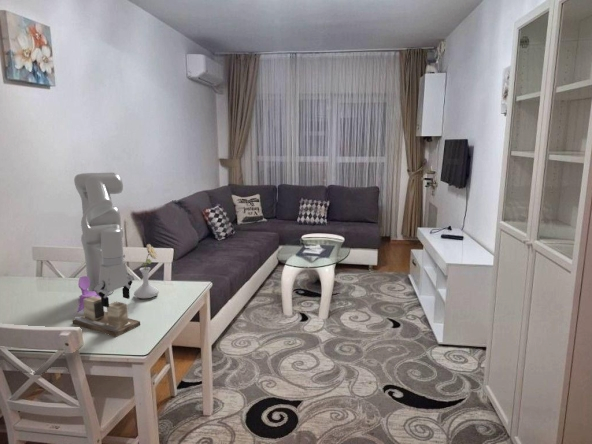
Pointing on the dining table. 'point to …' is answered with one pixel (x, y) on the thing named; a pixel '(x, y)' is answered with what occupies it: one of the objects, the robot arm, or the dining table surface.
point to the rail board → (101, 319)
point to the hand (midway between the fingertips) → (116, 302)
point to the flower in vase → (146, 288)
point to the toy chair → (85, 291)
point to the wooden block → (117, 314)
